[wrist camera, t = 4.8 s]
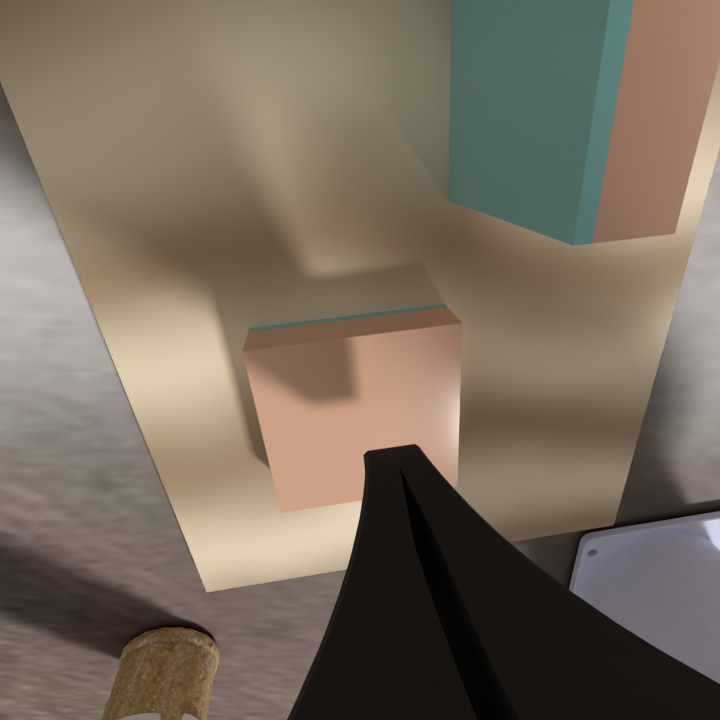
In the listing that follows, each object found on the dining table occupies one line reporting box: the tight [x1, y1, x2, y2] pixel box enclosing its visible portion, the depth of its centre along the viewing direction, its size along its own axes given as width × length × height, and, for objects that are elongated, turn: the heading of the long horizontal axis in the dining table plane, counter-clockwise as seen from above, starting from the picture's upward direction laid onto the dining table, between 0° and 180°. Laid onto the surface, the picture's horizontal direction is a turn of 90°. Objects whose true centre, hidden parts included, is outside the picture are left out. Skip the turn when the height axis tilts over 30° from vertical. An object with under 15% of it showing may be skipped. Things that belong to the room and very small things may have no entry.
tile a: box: [242, 304, 462, 513], centre depth 13 cm, size 6×2×6 cm
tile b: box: [449, 0, 720, 246], centre depth 7 cm, size 6×2×6 cm, turn 5°
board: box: [0, 0, 720, 592], centre depth 12 cm, size 26×18×1 cm
